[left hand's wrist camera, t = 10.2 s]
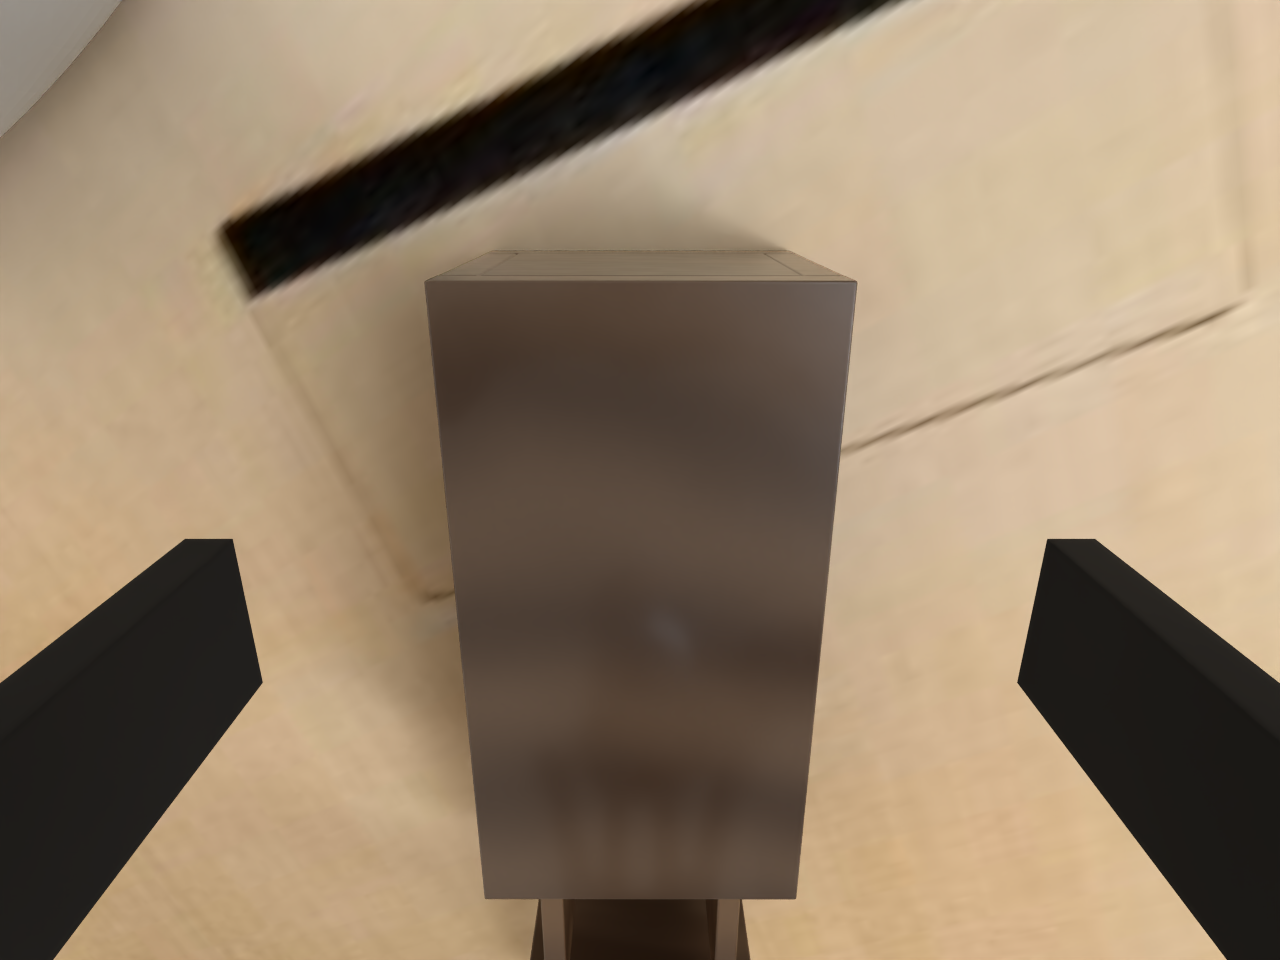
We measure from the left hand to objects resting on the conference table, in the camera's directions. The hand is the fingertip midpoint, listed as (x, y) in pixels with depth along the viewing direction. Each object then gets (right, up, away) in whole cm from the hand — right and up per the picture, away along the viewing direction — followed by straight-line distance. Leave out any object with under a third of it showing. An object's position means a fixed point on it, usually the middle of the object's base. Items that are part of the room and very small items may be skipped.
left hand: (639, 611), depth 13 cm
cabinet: (0, +1, +17) cm, 17 cm away
